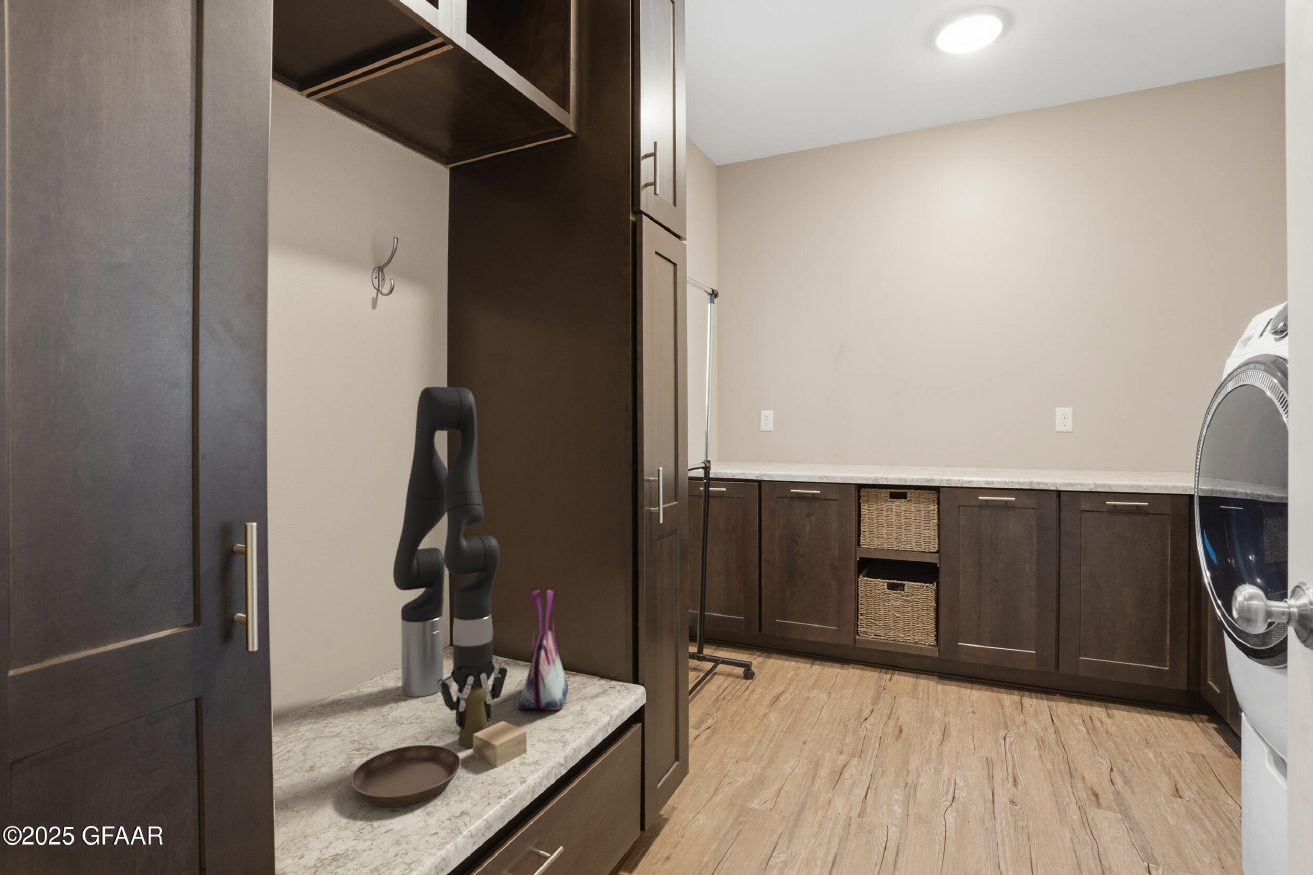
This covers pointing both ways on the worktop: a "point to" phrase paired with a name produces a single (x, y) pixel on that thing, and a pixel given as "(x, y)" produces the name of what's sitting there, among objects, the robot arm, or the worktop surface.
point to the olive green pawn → (473, 716)
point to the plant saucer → (406, 774)
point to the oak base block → (499, 743)
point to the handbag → (544, 667)
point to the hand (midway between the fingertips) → (473, 724)
